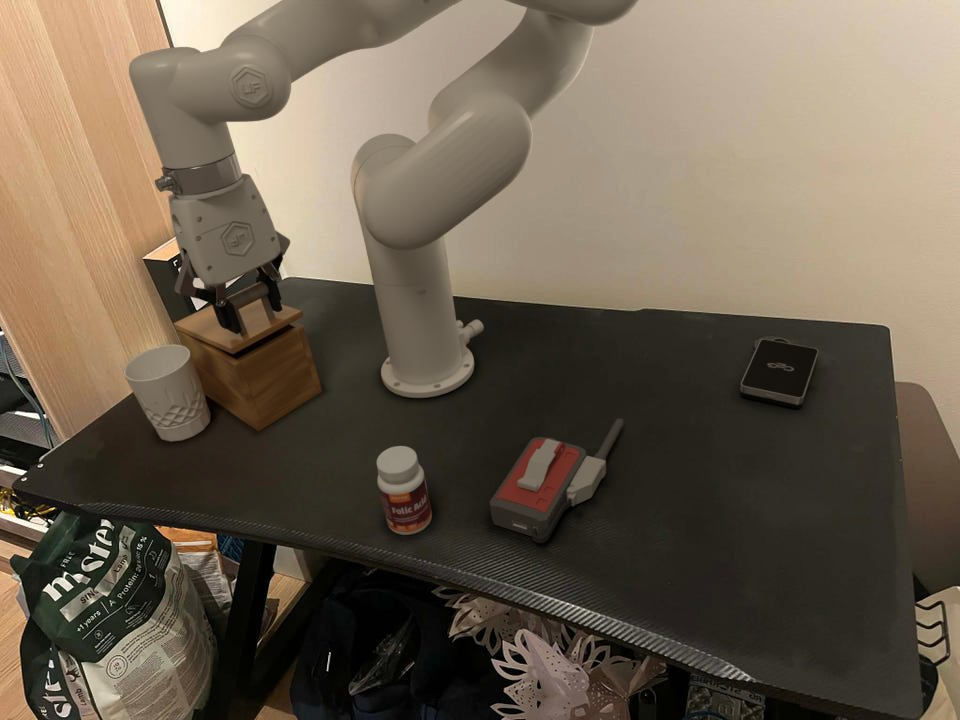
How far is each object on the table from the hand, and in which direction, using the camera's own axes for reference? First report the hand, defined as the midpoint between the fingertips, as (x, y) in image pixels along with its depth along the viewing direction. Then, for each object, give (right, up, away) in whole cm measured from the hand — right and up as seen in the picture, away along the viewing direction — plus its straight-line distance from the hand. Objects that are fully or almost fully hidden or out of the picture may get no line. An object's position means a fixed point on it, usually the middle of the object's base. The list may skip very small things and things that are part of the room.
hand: (253, 317), depth 86 cm
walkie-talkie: (+36, -18, -9) cm, 42 cm away
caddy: (-2, -9, +11) cm, 14 cm away
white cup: (-11, -14, +6) cm, 19 cm away
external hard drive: (+64, -8, 0) cm, 64 cm away
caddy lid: (-3, 0, +4) cm, 5 cm away
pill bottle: (+20, -22, -12) cm, 32 cm away
